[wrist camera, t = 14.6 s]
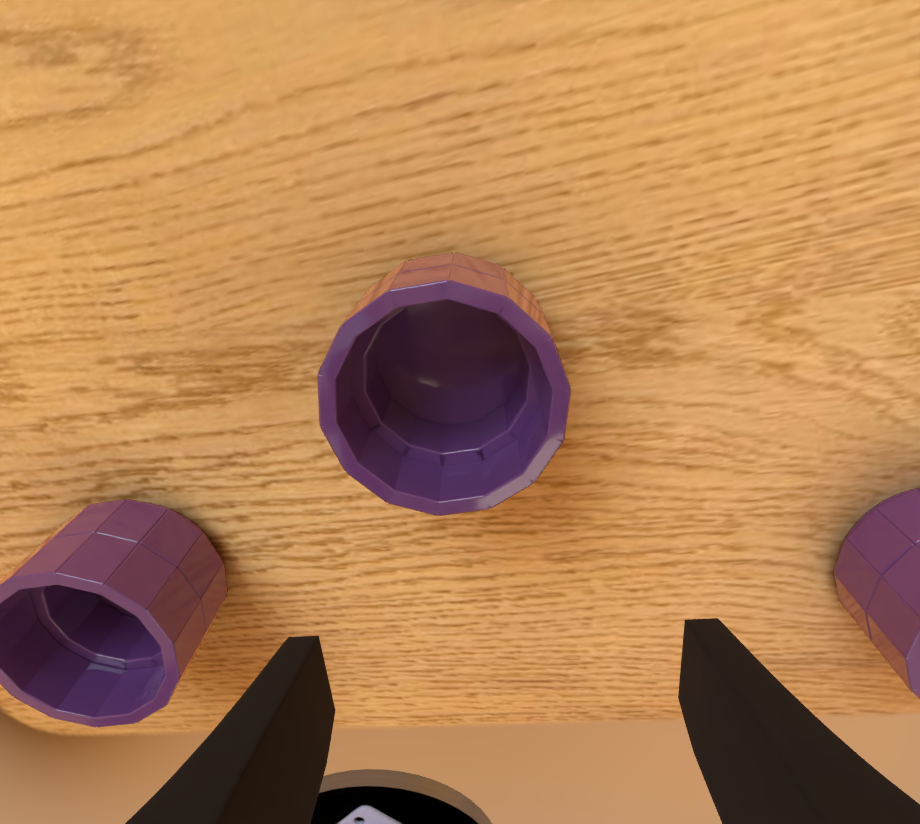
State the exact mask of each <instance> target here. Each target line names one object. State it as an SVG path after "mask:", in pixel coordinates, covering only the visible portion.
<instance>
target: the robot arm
mask: <svg viewBox="0 0 920 824" xmlns="http://www.w3.org/2000/svg"><path fill="white" fill-rule="evenodd" d="M678 698H679V702H680V705H681V709H682V713H683V716H684V720H685V724H686V727H687V731H688V734H689V737H690V741H691V744H692V748H693V751H694V754H695V756H696V759H697V762H698V764H699V767H700V769H701V771H702V774H703V776H704V779H705V781H706V784H707V787H708V789H709V792H710V794H711V797H712V799H713V802H714V804H715V807H716V809H717V811H718V814H719V816H720V819H721V821H722V824H920V804H918V803H917V802H916V801H915V800H913V799H912V798H911V797H909V796H908V795H907V794H906V793H904V792H903V791H902V790H901V789H899V788H898V787H897V786H895V785H894V784H893V783H891V782H890V781H889V780H888V779H886V778H885V777H884V776H883V775H882V774H880V773H879V772H878V771H877V770H875V769H874V768H873V767H872V766H871V765H870V764H868V763H867V762H866V761H865V760H864V759H863V758H861V757H860V756H859V755H858V754H857V753H856V752H854V751H853V750H852V749H851V748H850V747H849V746H848V745H846V744H845V743H844V742H843V741H842V740H841V739H840V738H838V737H837V736H836V735H835V734H834V733H833V732H832V731H831V730H830V729H829V728H827V727H826V726H825V725H824V724H823V723H822V722H821V721H820V720H819V719H818V718H817V717H815V716H814V715H813V714H812V713H811V712H810V711H809V710H808V709H807V708H806V707H805V706H804V705H803V704H802V703H801V702H800V701H799V700H798V699H797V698H796V697H795V696H794V695H792V694H791V693H790V692H789V691H788V690H787V689H786V688H785V687H784V686H783V685H782V684H781V683H780V682H779V681H778V680H777V679H776V678H775V677H774V676H773V675H772V674H771V673H770V672H769V671H768V670H767V669H766V668H765V667H764V666H763V665H762V664H761V663H760V662H759V661H758V660H757V659H756V658H755V657H754V656H753V654H752V653H751V652H750V651H749V650H748V649H747V648H746V647H745V646H744V645H743V644H742V643H741V642H740V641H739V640H738V639H737V638H736V637H735V636H734V635H733V634H732V633H731V631H730V630H729V629H728V628H727V627H726V626H725V625H724V624H723V623H722V622H721V621H720V620H718V619H717V618H715V619H693V620H685V626H684V638H683V649H682V661H681V672H680V684H679V696H678ZM334 715H335V707H334V703H333V698H332V694H331V689H330V685H329V680H328V676H327V671H326V667H325V662H324V658H323V653H322V649H321V644H320V640H319V636H306V637H289V638H288V639H287V640H286V641H285V642H284V643H283V644H282V646H281V647H280V648H279V649H278V651H277V652H276V653H275V655H274V656H273V657H272V658H271V660H270V661H269V662H268V664H267V665H266V666H265V667H264V669H263V670H262V671H261V673H260V674H259V675H258V676H257V678H256V679H255V680H254V682H253V683H252V684H251V685H250V687H249V688H248V689H247V690H246V692H245V693H244V694H243V695H242V697H241V698H240V699H239V700H238V701H237V703H236V704H235V705H234V706H233V707H232V709H231V710H230V711H229V712H228V714H227V715H226V716H225V717H224V718H223V720H222V721H221V722H220V723H219V724H218V726H217V727H216V728H215V729H214V730H213V732H212V733H211V734H210V735H209V736H208V737H207V739H206V740H205V741H204V742H203V743H202V744H201V745H200V746H199V747H198V748H197V750H196V751H195V752H194V753H193V754H192V755H191V756H190V757H189V759H188V760H187V761H186V762H185V763H184V764H183V765H182V766H181V767H180V768H179V770H178V771H177V772H176V773H175V774H174V775H173V776H172V777H171V778H170V779H169V780H168V781H167V782H166V784H165V785H164V786H163V787H162V788H161V789H160V790H159V791H158V792H157V793H156V794H155V795H154V796H153V797H152V798H151V799H150V800H149V801H148V802H147V803H146V804H145V805H144V806H143V807H142V808H141V809H140V810H139V811H138V812H137V813H136V814H135V815H134V816H133V817H132V818H131V819H130V820H128V821H127V822H126V823H125V824H310V822H311V819H312V815H313V811H314V808H315V804H316V801H317V797H318V793H319V790H320V786H321V782H322V779H323V775H324V771H325V767H326V763H327V758H328V752H329V746H330V741H331V733H332V728H333V721H334ZM333 824H409V823H408V822H406V821H404V820H402V819H401V818H399V817H397V816H395V815H394V814H392V813H390V812H389V811H387V810H385V809H383V808H382V807H380V806H378V805H376V804H375V803H373V802H370V801H362V802H360V803H359V804H357V805H356V806H355V807H353V808H352V809H351V810H350V811H348V812H347V813H346V814H344V815H343V816H342V817H341V818H339V819H338V820H337V821H335V822H334V823H333Z"/></svg>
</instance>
